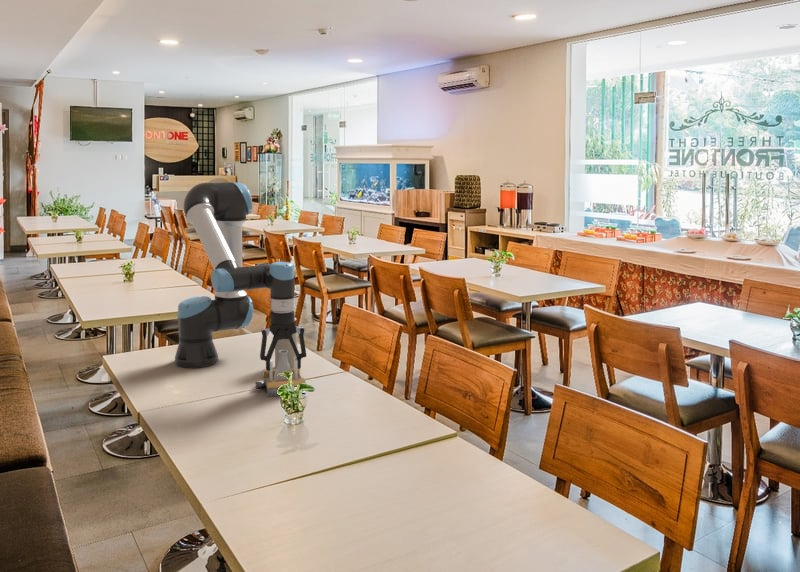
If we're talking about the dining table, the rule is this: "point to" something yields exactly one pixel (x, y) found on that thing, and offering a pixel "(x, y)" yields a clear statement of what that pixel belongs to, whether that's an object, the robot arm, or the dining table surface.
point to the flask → (282, 365)
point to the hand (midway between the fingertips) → (283, 378)
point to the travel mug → (286, 345)
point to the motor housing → (276, 382)
